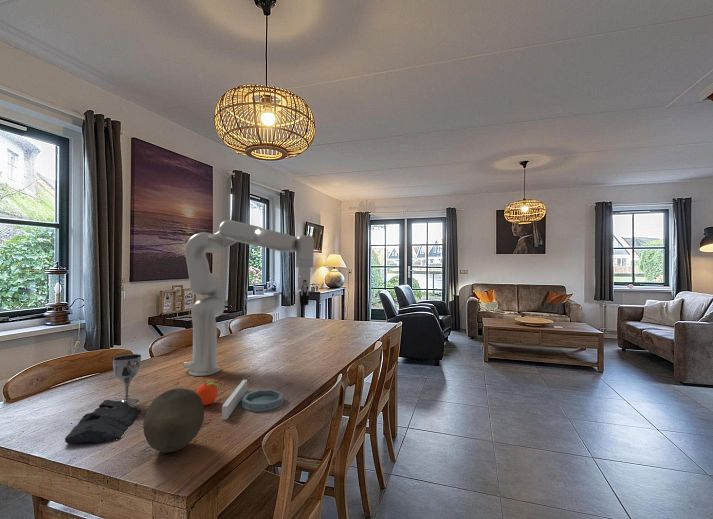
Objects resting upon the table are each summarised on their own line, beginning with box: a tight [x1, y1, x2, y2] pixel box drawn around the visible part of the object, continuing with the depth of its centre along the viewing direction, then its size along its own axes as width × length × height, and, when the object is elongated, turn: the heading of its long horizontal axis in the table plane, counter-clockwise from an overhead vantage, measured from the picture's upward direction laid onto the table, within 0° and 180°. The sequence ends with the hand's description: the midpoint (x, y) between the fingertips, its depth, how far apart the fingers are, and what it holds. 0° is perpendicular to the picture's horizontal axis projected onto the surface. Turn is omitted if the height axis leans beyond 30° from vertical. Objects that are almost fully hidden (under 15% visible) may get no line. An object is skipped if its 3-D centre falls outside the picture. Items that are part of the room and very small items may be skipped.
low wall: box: [221, 379, 248, 421], centre depth 117 cm, size 2×24×4 cm, turn 3°
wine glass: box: [112, 353, 142, 405], centre depth 118 cm, size 8×8×15 cm
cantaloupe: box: [142, 388, 205, 454], centre depth 88 cm, size 14×14×15 cm
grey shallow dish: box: [241, 389, 284, 413], centre depth 118 cm, size 14×14×2 cm
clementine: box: [195, 382, 221, 406], centre depth 116 cm, size 8×7×7 cm
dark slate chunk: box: [64, 399, 142, 445], centre depth 100 cm, size 15×22×5 cm
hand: (304, 303), depth 151 cm, fingers open, 9 cm apart
